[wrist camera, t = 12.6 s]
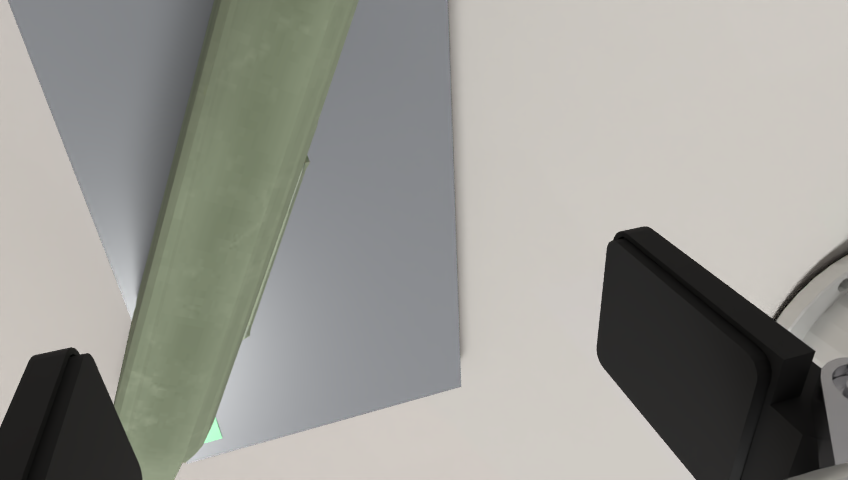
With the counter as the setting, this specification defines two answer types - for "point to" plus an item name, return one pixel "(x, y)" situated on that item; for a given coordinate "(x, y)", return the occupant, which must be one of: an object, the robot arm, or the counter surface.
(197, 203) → the handheld radio
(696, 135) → the counter surface
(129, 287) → the charging dock
